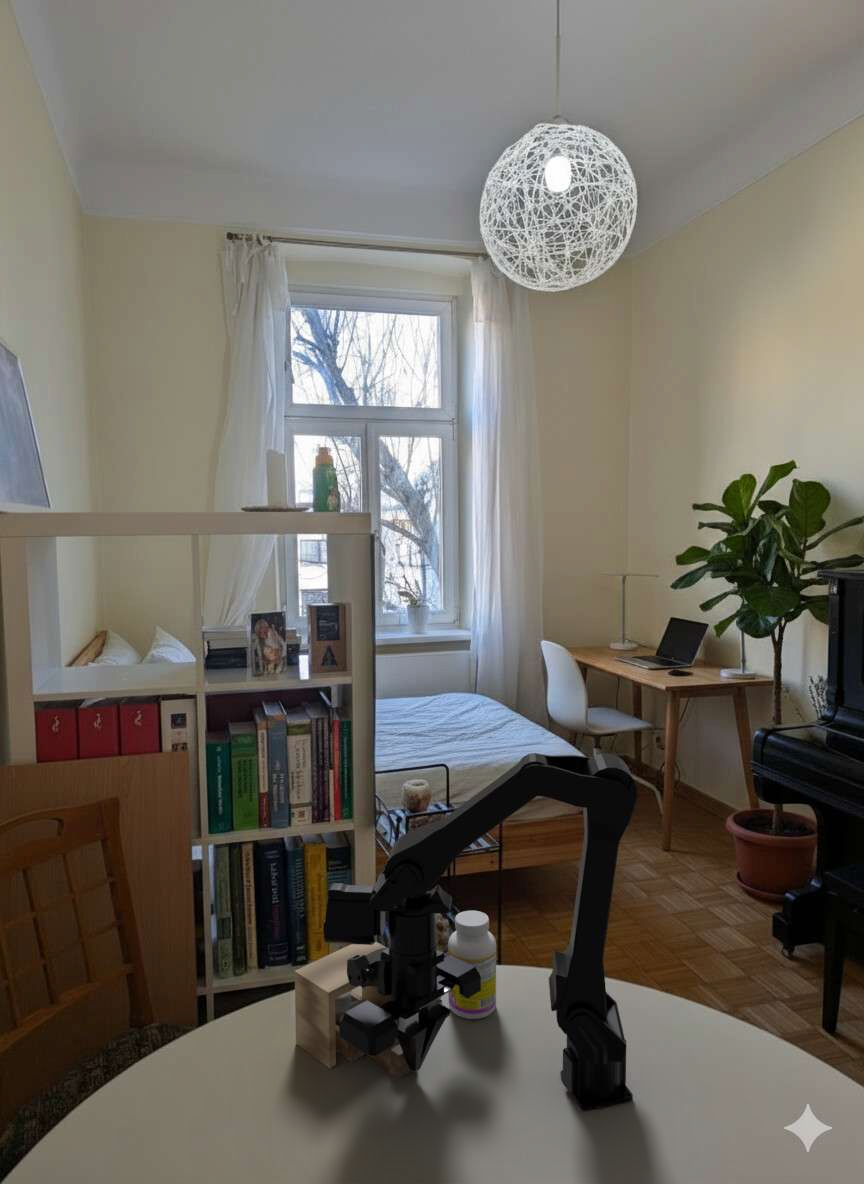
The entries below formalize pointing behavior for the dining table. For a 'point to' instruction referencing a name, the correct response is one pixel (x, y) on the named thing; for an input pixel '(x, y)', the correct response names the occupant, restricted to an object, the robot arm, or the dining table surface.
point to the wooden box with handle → (387, 1058)
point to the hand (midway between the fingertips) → (414, 1069)
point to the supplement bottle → (474, 963)
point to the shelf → (327, 1000)
